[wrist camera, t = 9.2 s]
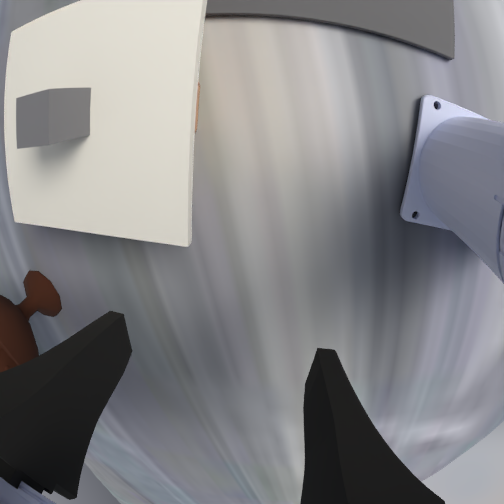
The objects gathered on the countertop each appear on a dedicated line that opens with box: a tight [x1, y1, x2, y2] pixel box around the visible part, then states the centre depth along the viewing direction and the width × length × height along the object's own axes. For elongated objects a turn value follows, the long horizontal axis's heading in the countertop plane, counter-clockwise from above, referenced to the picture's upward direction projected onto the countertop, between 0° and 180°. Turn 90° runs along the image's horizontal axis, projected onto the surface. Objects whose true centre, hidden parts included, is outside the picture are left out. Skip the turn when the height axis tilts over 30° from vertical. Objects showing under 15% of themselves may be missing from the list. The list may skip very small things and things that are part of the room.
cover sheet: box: [4, 0, 207, 247], centre depth 10 cm, size 13×13×4 cm
